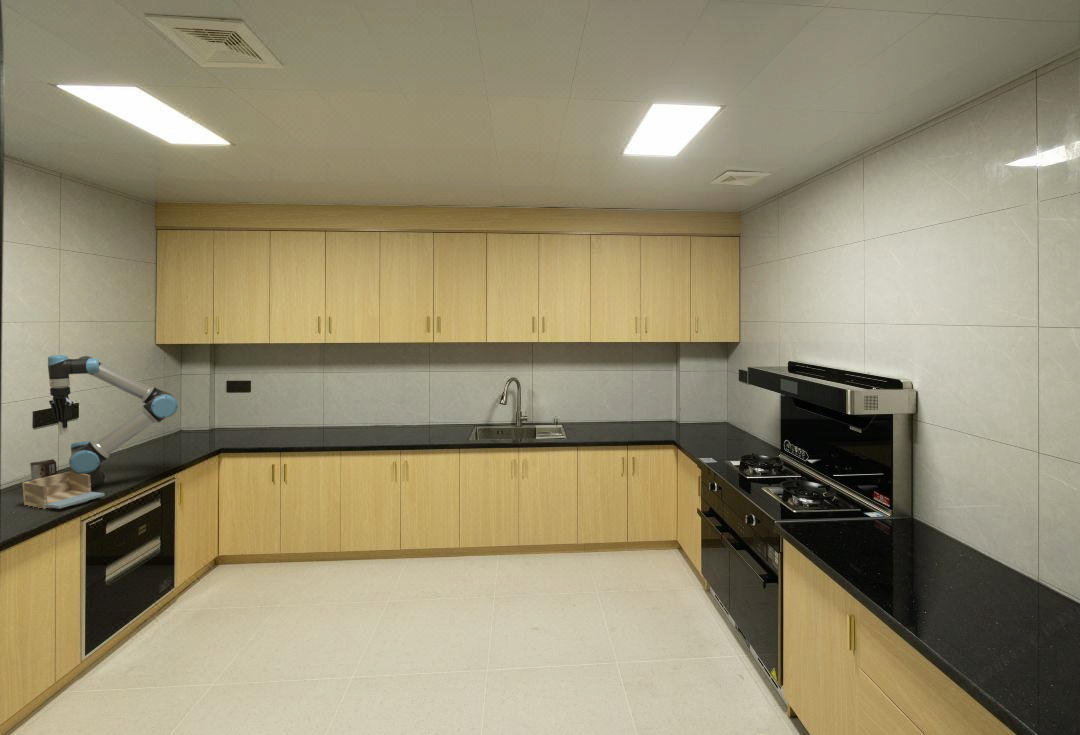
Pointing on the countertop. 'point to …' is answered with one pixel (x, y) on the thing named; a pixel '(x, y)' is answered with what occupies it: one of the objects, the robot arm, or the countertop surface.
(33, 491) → the crate
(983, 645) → the countertop surface
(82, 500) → the panel
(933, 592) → the countertop surface
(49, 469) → the coffee box
